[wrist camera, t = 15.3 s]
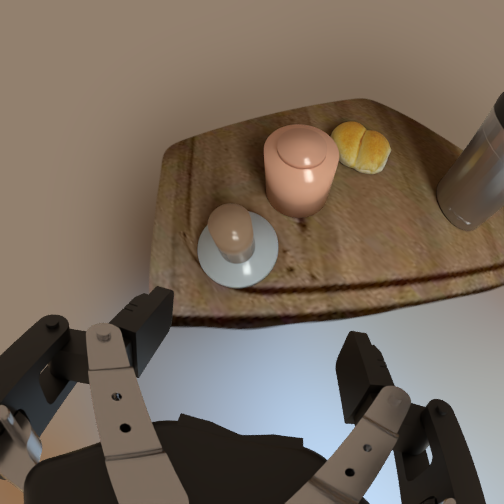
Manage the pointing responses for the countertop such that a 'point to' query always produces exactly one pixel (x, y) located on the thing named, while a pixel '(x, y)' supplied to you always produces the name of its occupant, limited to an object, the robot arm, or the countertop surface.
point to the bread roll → (361, 147)
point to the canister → (299, 169)
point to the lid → (237, 247)
